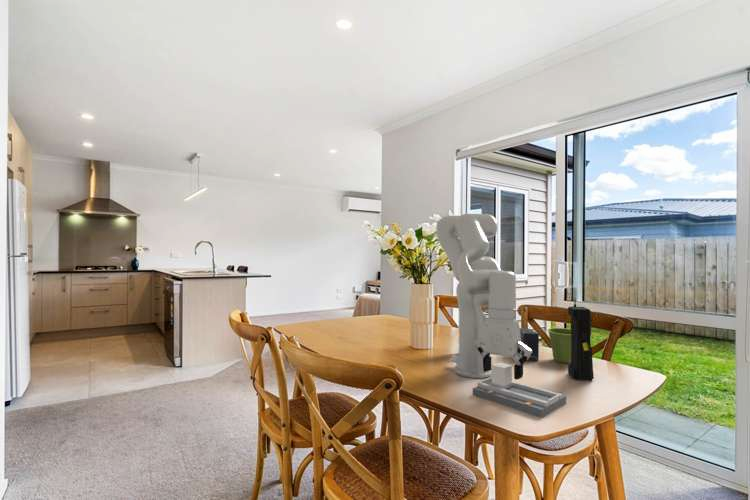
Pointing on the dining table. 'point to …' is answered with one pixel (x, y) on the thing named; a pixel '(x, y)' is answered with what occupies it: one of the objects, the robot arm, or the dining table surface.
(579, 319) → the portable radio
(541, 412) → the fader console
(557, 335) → the plant pot
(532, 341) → the small box
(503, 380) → the fader tab
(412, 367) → the dining table surface
